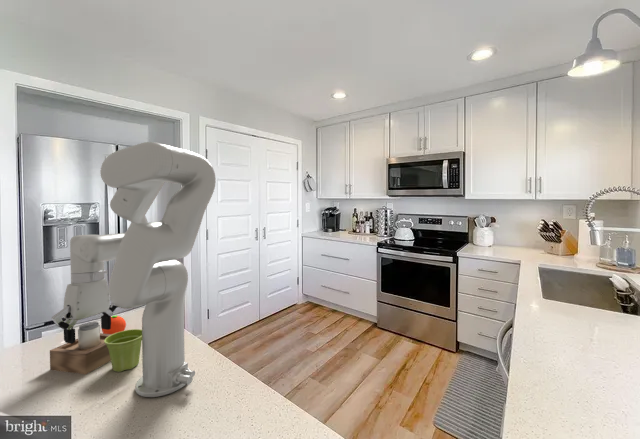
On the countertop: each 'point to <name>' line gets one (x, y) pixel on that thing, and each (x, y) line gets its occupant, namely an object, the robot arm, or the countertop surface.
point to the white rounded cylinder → (88, 335)
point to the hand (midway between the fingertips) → (89, 335)
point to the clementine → (115, 325)
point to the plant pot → (124, 349)
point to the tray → (79, 357)
